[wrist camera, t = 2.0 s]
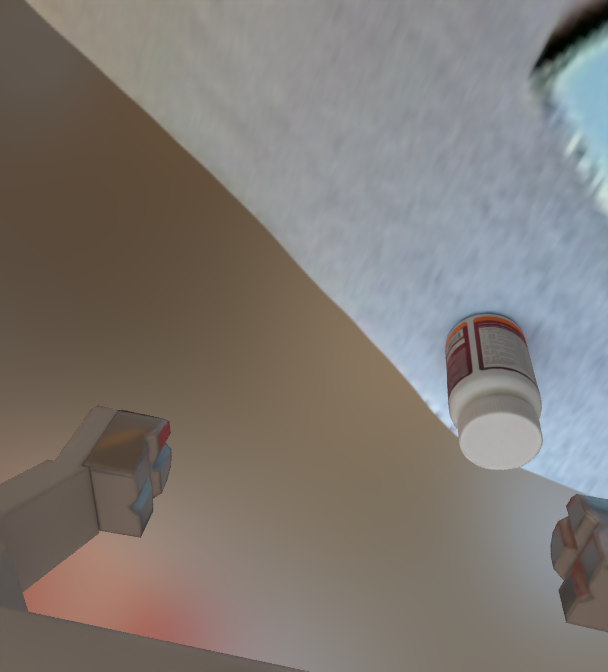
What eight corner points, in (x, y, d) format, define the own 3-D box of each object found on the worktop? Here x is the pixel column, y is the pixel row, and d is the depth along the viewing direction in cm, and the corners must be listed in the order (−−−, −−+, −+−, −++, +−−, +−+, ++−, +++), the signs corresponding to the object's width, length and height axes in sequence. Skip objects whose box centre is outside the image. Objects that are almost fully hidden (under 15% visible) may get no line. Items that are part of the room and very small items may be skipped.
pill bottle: (460, 381, 48) (469, 485, 39) (433, 325, 46) (436, 421, 37) (535, 361, 46) (563, 465, 37) (511, 299, 43) (535, 396, 34)
